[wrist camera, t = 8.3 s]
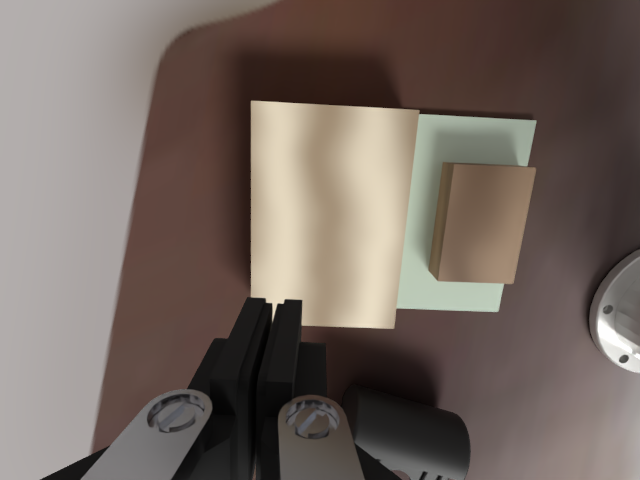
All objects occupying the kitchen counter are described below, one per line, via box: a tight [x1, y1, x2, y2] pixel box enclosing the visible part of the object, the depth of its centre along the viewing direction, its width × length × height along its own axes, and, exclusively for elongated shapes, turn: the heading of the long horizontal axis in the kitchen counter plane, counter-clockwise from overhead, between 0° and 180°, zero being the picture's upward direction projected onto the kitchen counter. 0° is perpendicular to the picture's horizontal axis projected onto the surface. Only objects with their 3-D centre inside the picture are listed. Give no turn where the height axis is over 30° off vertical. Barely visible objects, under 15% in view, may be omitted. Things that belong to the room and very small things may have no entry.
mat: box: [396, 114, 536, 312], centre depth 30 cm, size 10×16×1 cm, turn 177°
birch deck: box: [251, 101, 420, 329], centre depth 28 cm, size 11×16×4 cm
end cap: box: [341, 385, 471, 480], centre depth 32 cm, size 10×7×7 cm
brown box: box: [428, 162, 536, 284], centre depth 29 cm, size 6×9×2 cm, turn 177°
